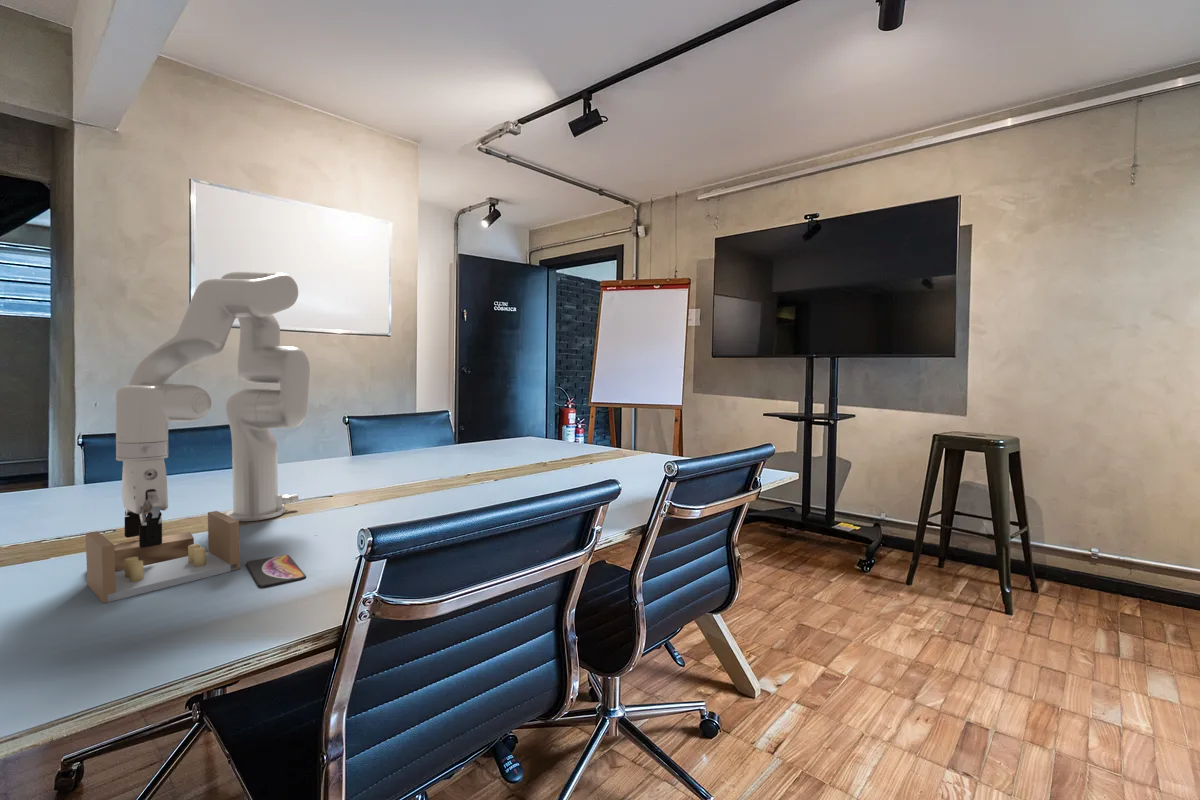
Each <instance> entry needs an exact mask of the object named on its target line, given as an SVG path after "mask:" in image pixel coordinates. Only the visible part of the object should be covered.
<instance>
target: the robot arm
mask: <svg viewBox="0 0 1200 800" xmlns="http://www.w3.org/2000/svg"><path fill="white" fill-rule="evenodd" d="M298 298H299V287H298V284H297V282H296V280H295V279H294V278H293V277H292V276H291V275H289V274H287V273H284V272H269V271H268V272H267V271H266V272H264V271H263V272H262V271H259V272H258V271H236V272H235V271H234V272H228V273H225V274H224V275H222V276H221V278H211V279H206V280H204V281H202V282H200V283H199V284H198V286H197V287H196V289H195V291H194V293H193V295H192V298H191V300H190V302H189V304H188V307H187V309H186V311H185V314H184V316H183V318H182V320H181V322H180V325H179V327H178V330H177V332H176V333H175V335H174V336H172V337H171V338H170V339H169V338H168V340H166V341H164V343H162V344H161V345H159V346H158V347H157V348H155V349H154V350H152V351H151V352H150V353H148V355H146V356H145V357H144V358H143V359H142V360H141V362H139V364H138V365H137V366H136V368H135V369H134V372H133V374H132V376H131V378H130V380H129V382H128V384H127V385H124V386H120V387H119V388H117V390H116V393H115V461H118V462H122V468H121V469H122V474H121V475H122V477H121V480H122V481H121V497H122V499H121V500H122V505H123V507H124V508H125V509H124V537H125V538H127V539H128V538H133V537H138V540H139V546H140V547H141V548H145V547H150V546H156V545H160V544H162V536H163V518H162V516H163V515H162V512H161V511H167V509H168V508H169V495H168V493H169V492H168V479H167V468H166V463H165V459H168V458H169V422H181V423H185V422H187V423H189V422H194V421H198V420H200V419H202V418H204V417H206V415H207V414H208V413H209V412H210V410H211V407H212V398H211V396H210V394H209V393H208V392H207V391H206V390H205V389H203V388H202V387H200V386H197V385H195V384H179V383H178V384H176V383H175V384H173V383H168V381H169V380H170V379H171V378H172V377H173V376H175V374H177V373H178V372H179V371H181V370H182V369H184V368H187V367H188V366H190V365H193V364H196V363H198V362H201V361H204V360H207V359H209V358H212V357H215V356H216V355H218V354H220V353H221V352H222V351H223V350H224V347H225V345H226V342H227V340H228V337H229V334H230V332H231V329H232V327H233V324H234V321H235V320H236V319H238V322H239V329H240V332H239V333H240V334H239V342H238V343H239V345H238V355H237V374H238V377H239V378H240V379H241V380H242V381H244V382H246V383H251V384H259V385H260V384H262V385H263V384H264V385H279V388H280V389H270V388H269V389H267V388H246V389H241V390H238V391H235V392H233V393H231V395H230V396H229V397H228V399H227V401H226V405H225V409H226V410H225V411H226V417H227V420H228V425H229V428H230V430H229V431H230V435H231V458H232V459H231V460H232V462H231V464H232V466H231V467H232V506H233V508H232V509H231V510H228V511H226V512H225V515H227V516H229V517H231V518H233V519H235V520H237V521H239V522H255V521H262V520H268V519H273V518H277V517H279V516H281V515H283V514H284V513H286V507H285V505H286V504H288V503H290V504H291V503H297V502H299V495H298V494H290V495H289V494H280V493H279V480H278V479H279V477H278V475H279V472H278V469H279V468H278V443H277V439H276V437H275V436H274V433H272V431H271V429H295V428H297V427H299V426H302V425H301V424H302V423H303V422H304V421H305V418H306V415H307V412H308V411H307V410H308V402H309V401H308V400H309V389H310V388H309V387H310V373H311V369H310V368H311V367H310V366H311V365H310V362H309V357H308V356H307V354H306V353H305V352H304V351H303V349H300V348H298V347H296V346H286V345H284V346H283V345H281V343H280V342H281V327H280V324H279V322H278V320H277V318H276V317H275V316H274V314H277V313H281V312H282V311H285V310H288V309H290V308H291V307H293V306H294V304H296V302H297V299H298Z"/></svg>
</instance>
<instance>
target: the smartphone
mask: <svg viewBox="0 0 1200 800" xmlns="http://www.w3.org/2000/svg"><path fill="white" fill-rule="evenodd" d="M245 566H246V568H247V570H248V572H249V573H250V575H251V577H252V579H253V580H254V582H255V583H256V585H257V588H259V589H265V588H271V587H275V586H280V585H284V584H289V583H294V582H299V581H303V580H305V579H306V578H307V575H306V574H305V573H304V572H303V570H302V569H301V567H300V566H298V564H297V563H296V562H295V560H294V559H293V558H292V557H291V556H290V554H289V555H288V554H282V555H276V556H271V557H265V558H259V559H258V558H257V559H253V560H248V561H246V562H245Z"/></svg>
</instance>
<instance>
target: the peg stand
mask: <svg viewBox="0 0 1200 800" xmlns="http://www.w3.org/2000/svg"><path fill="white" fill-rule="evenodd" d="M207 534H208V535H207V537H208V538H207V539H208V543H207V544H208V551H206V549H207V548H206V547H205V546H204V547H203V546H201V544H200V543H194V544H193V545H189V546H188V556H186V557H182V558H177V559H173V560H168V561H164V562H159V563H155V564H150V565H145V566H143V561H138V557H130V558H126V559H125V569H123V570H117V571H115V553H114V544H115V543H113V542H111V541H110V540H109V539H108V538H107V537H105V536H104V535H103V534H102V533H100V531H98V530H96V531H91V532H86V533H85V553H86V554H85V557H86V558H85V559H86V584H87V586H88V587H89V589H90V590H91V591H92V592H93V593H94V594H95V596H97V598H98V599H99V600H100V601H101V602H102V603H103V604H106V603H109V602H114V601H119V600H122V599H126V598H129V597H130V598H131V597H134V596H138V595H143V594H146V593H150V592H155V591H157V590H162V589H166V588H170V587H174V586H178V585H181V584H186V583H190V582H193V581H199V580H201V579H205V578H210V577H213V576H218V575H221V574H225V573H229V572H230V573H231V572H233V571H237V570H241V566H240V565H241V563H240V562H241V561H240V559H241V558H240V552H241V551H240V550H241V549H240V521H237V520H235V519H233V518H231V517H229V516H227V515H226V514H224V513H222V512H220V511H218V510H213V511H209V512H207Z"/></svg>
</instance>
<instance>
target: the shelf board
mask: <svg viewBox="0 0 1200 800" xmlns="http://www.w3.org/2000/svg"><path fill="white" fill-rule="evenodd" d="M113 544H114V553H115V572H118V571H123V570H125V559H126V558H130V557H138V561H143V566H145V565H150V564H155V563H159V562H164V561H168V560H173V559H177V558H182V557H186V556H188V546H189V545H193V544H195V539H194V536H193V534H192V531H191V532H190V531H189V532H181V533H176V534H175V533H174V534H170V535H162V544H160V545H156V546H150V547H145V548H141V547H140V546H139V539H137V540H132V541H123V542H118V543H113Z"/></svg>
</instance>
